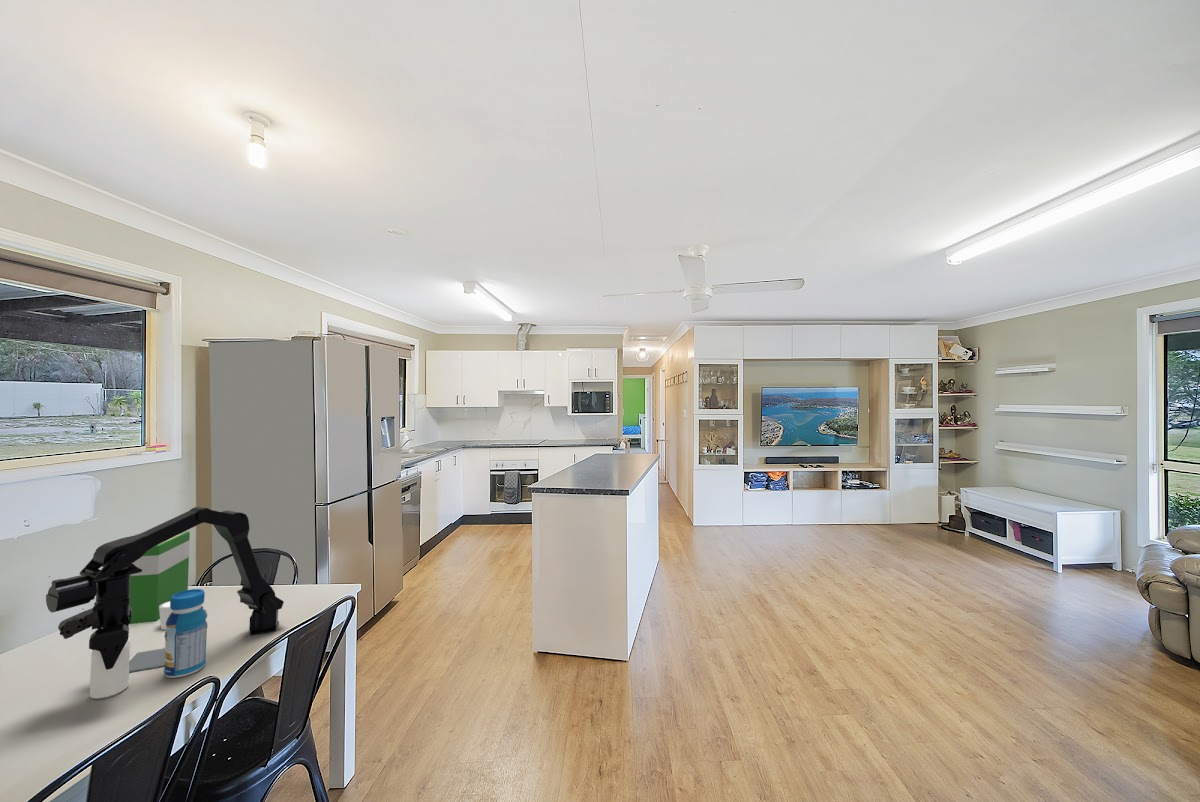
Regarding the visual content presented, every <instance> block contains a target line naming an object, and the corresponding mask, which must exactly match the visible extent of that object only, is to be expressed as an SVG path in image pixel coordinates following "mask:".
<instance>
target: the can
mask: <svg viewBox="0 0 1200 802" xmlns="http://www.w3.org/2000/svg"><path fill="white" fill-rule="evenodd" d="M130 651H131V643H130V642H129V640H128V641H127V642H126V644H125V646H124V648H123V650H122V651H121V653H120V655H119V657H118V659H117V661H116V663H115V665H114V666H113V668H112V669H108V670H106V668H105V665H104V662H103V659H102V656H101V653H100V651H97V650H91V655H90V656H91V657H90V676H89V678H90V680H89V697H90V698H91V699H93V700H103V699H108V698H111V697H113V696H116V695H119V694H121V693H122V692H123V691H125V690H126V689H127V688H128V687H129V682H130V673H129V661H130V660H131V657H130V655H131V654H130V653H131V652H130Z"/></svg>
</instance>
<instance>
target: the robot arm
mask: <svg viewBox="0 0 1200 802" xmlns="http://www.w3.org/2000/svg"><path fill="white" fill-rule="evenodd" d="M203 523H204V524H209V525H213V527H214V528H215V530H216V531H217V533H218V534H219V535H220V536H221V537H222V538H223V539H224V541H226V543H228V544H227V545H228V546H229V549H230V552H231V554H232V556H233V559H234V560H233V561H234V562H235V563H234V564H235V565H236V568H237V569H238V570H237V571H238V572H239V575H240V578H241V580H242V581H241V582H242V587H241V589H239V590H237V591H236V593H237V595H238V596H239V602H240V603H242V604H244V605H245V606H247V607H248V609H249V610H252V612H251V615H250V616H249V628H248V629H249V631H250V632H249V635H250V636H251V635H258V634H264V633H271V632H276V630H277V628H278V626H279V624H280V621H279V610H281V609H282V608H283V605H284V603H285V601H284V600H282V599H280V598H279V597H277V596H276V593H275V590H274V589H273V587H272V586H271V584H269V582H268V581H267V580H266V579H265V578H264V577H263V576H262V573H261V570H260V568H259V565H258V562H257V560H256V557H255V554H254V551H253V549H252V545H251V543H250V540H249V532H250V529H251V528H250V521H249V516H248V515H247V514H246V513H244V512H240V511H234V510H222V511H218V510H217V511H216V510H213V509H210V508H207V507H202V506H195V507H192V508H191V509H189V510H188V511H186V512H183V513H182V514H179V515H177V516H174V517H173V518H171V519H168V520H166V521H164V522H162V523H160V524H158V525H156V526H153V527H151V528H149V529H147V530H145V531H143V532H140V533H138V534H135V535H131V536H125V537H122V538H119V539H115V540H112V541H109V542H105V543H103V544H101V545H100V546H98V547H97V548H96V549H95V552H94V553H93V556H92V558H91V559H90V561H88V563H87V564H86V565H85V566H84V567H83V568H82V570H80V572H79V575H76V576H73V577H72V576H71V577H65V578H60V579H55V580H52V581H51V586H50V587H49V588H48V591H47V594H46V595H45V603H46V607H47V610H48V611H49V612H50V613H51V614H53V613H56V612H60V611H63V610H68V609H71V608H74V607H78V606H82V605H87V604H89V603H90V602H91V601H94V600H95V602H94V603H93V604H94V605H93V607H92V608H89V609H86V610H84V611H81V612H79V613H77V614H74V615H72V616H71V617H68V618H65V619H63V620H62V621H60V622H59V624H58V626H57V629H58V630H59V635H60V636H62V637H63V639H65V640H67V639H69V638H72V637H74V636H75V635H76V634H79V633H81V632H83V631H85V630H88V629H89V628H91V630H95V631H94V632H93V633H91V635H90V636H89V640H88V650H91V651H93V650H97V651H100V653H101V656H102V659H103V662H104V665H105V668H106V670H108V669H112V668H113V666H114V665H115V663H116V661H117V659H118V657H119V655H120V653H121V651H122V650H123V648H124V646H125V644H126V642H127V641H129V635H130V626H129V625H130V622H131V617H132V607H131V606H129V605H130V575H131V574H135V573H139V572H142V569H140V568H138V567H136V566H135V565H134V564H132V563H133V562H135V561H136V560H138V559H140V558H141V557H142V556H143V555H144V554H145V553H146V552H147V551H148V550H150V549H151V548H153V547H154V546H156V545H159V544H161V543H163V542H165V541H167V540H169V539H171V538H173V537H175V536H177V535H179V534H183V533H185V532H188V531H189V530H191V529H193V528H194V527H197V526H199V525H201V524H203Z"/></svg>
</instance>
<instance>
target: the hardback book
mask: <svg viewBox="0 0 1200 802" xmlns="http://www.w3.org/2000/svg"><path fill="white" fill-rule="evenodd" d="M190 534H191V531H185V532H183V533H181V534H179V535H177V536H175V537H173V538H171V539H169V540H167V541H165V542H163V543H161V544H159V545H156V546H154V547H153V548H151V549H150V550H148V551H147V552H146V553H145V554H144V555H143V556H142V557H141V558H140V559H138V560H136V561H135V562H133V563H132V564H134V565H135V566H136V567H138V568H140V569H142V572H139V573H135V574H131V575H130V605H129V606H131V607H132V617H131V622H130V624H131V625H132V624H143V623H153V622H158V621H160V612H159V606H160V605H161V604H163V603H165V602H169V601H170V599H171V596H172V595H174V594H176V593H178V592H181V591H185V590H189V568H190V567H189V566H190V565H189V563H190V539H191V538H190V537H191V536H190ZM130 624H129V625H130Z"/></svg>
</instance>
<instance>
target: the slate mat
mask: <svg viewBox="0 0 1200 802" xmlns="http://www.w3.org/2000/svg"><path fill="white" fill-rule="evenodd" d="M164 667H165V647H164V648H158V649H152V650H151V649H150V650H144V651H140V652H137V653H136V654H135V655H134V656H133V657H132V658H130V660H129V674H130V673H135V672H136V673H137V672H141V671H147V670H152V669H158V668H159V669H160V668H164Z"/></svg>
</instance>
